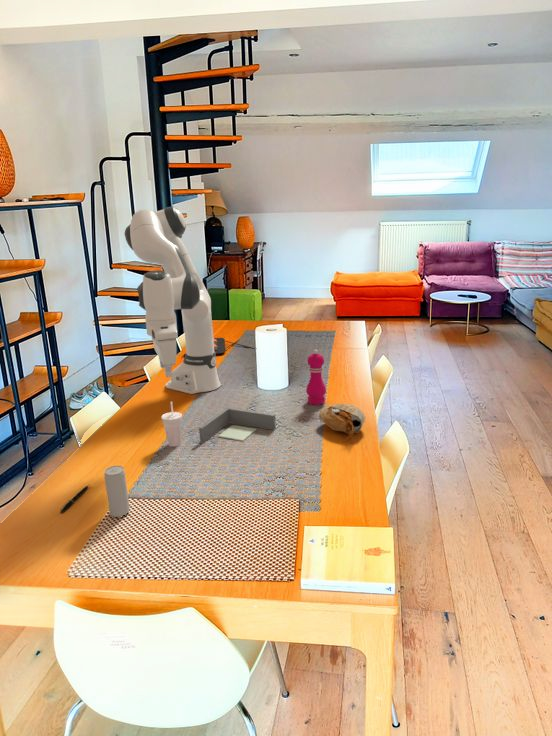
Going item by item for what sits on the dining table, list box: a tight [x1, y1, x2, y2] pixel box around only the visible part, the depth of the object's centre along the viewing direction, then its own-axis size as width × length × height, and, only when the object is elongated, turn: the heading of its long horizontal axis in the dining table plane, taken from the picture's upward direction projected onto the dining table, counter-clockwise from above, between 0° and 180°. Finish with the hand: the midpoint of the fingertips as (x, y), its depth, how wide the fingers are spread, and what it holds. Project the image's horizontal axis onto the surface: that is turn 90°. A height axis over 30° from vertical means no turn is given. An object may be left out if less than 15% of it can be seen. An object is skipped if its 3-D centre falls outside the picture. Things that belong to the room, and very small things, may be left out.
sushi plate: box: [213, 337, 256, 355], centre depth 280 cm, size 29×30×4 cm
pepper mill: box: [305, 349, 327, 406], centre depth 203 cm, size 7×7×20 cm
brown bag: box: [318, 403, 366, 443], centre depth 179 cm, size 8×22×15 cm
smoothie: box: [161, 401, 183, 448], centre depth 174 cm, size 6×6×14 cm
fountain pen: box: [60, 483, 90, 514], centre depth 146 cm, size 14×1×2 cm, turn 168°
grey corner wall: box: [198, 407, 277, 444], centre depth 180 cm, size 18×18×5 cm
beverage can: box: [103, 465, 131, 518], centre depth 137 cm, size 5×5×12 cm
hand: (166, 371), depth 168 cm, fingers open, 8 cm apart
